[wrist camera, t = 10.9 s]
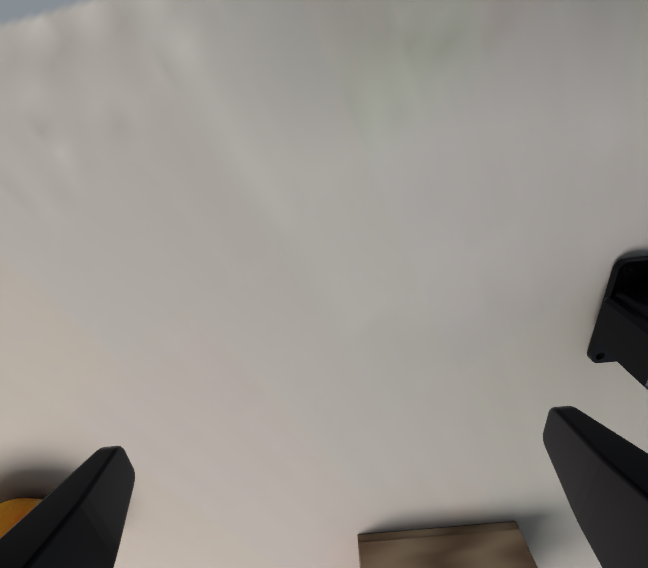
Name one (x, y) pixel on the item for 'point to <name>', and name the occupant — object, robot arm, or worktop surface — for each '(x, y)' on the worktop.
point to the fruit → (15, 512)
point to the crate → (447, 548)
